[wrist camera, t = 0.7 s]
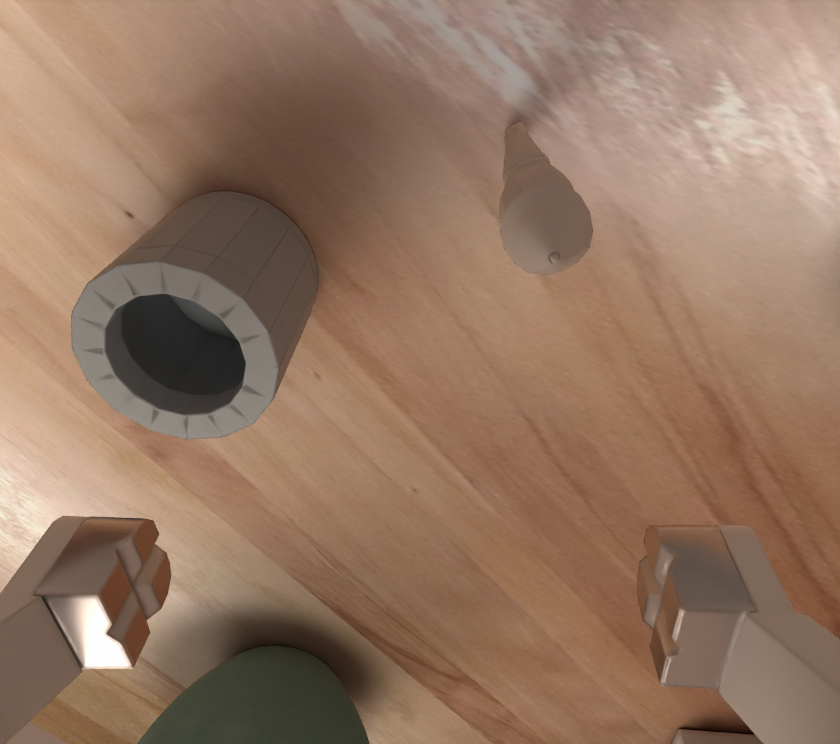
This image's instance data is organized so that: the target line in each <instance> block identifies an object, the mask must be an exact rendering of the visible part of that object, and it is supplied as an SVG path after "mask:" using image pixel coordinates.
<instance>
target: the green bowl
mask: <svg viewBox="0 0 840 744" xmlns="http://www.w3.org/2000/svg"><path fill="white" fill-rule="evenodd" d="M137 744H369V740H368V737H367V734H366V731H365V728H364V726H363V723H362V721H361V719H360V717H359V714H358V712H357V710H356V708H355V706H354V704H353V702H352V701H351V699H350V697H349V695H348V694H347V692H346V690H345V689H344V687H343V685H342V684H341V682H340V681H339V679H338V678H337V676H336V675H335V674H334V672H333V671H332V670H331V669H330V668H329V667H328V666H327V665H326V664H325V663H324V662H322V661H321V660H320V659H319V658H317V657H315V656H313V655H311V654H309V653H307V652H304V651H302V650H298V649H295V648H291V647H284V646H262V647H256V648H252V649H249V650H246V651H244V652H242V653H240V654H238V655H236V656H234V657H232V658H231V659H229V660H227V661H226V662H224V663H222V664H221V665H219V666H217V667H216V668H214V669H213V670H211V671H210V672H208V673H207V674H205V675H204V676H202V677H201V678H200V679H198V680H197V681H196V682H194V683H193V684H192V685H191V686H190V687H188V688H187V689H186V690H185V691H184V692H183V693H182V694H181V695H179V696H178V697H177V698H176V699H175V700H174V701H173V702H172V703H171V704H170V705H169V706H168V707H167V708H166V709H165V711H164V712H163V713H162V714H161V715H160V716H159V717H158V718H157V720H156V721H155V722H154V723H153V724H152V725H151V727H150V728H149V729H148V730H147V732H146V733H145V734H144V735H143V737H142V738H141V739H140V741H139V742H138V743H137Z"/></svg>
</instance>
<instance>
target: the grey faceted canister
mask: <svg viewBox="0 0 840 744" xmlns="http://www.w3.org/2000/svg"><path fill="white" fill-rule="evenodd" d="M317 288H318V270H317V264H316V260H315V257H314V254H313V251H312V249H311V247H310V244H309V243H308V241H307V239H306V238H305V236H304V234H303V233H302V232H301V230H300V229H299V228H298V226H297V225H296V224H295V223H294V222H293V221H292V220H291V219H290V218H289V217H288V216H287V215H285V214H284V213H283V212H282V211H280V210H279V209H277V208H276V207H274V206H273V205H271V204H270V203H267V202H265V201H263V200H261V199H259V198H256V197H253V196H251V195H247V194H243V193H238V192H228V191H221V192H211V193H206V194H202V195H199V196H196V197H194V198H192V199H190V200H188V201H186V202H185V203H183V204H182V205H181V206H179V207H178V208H177V209H176V210H175V211H173V212H171V213H170V214H168V215H167V216H165V217H164V218H163V219H162V220H161V221H160V222H158V223H157V224H156V225H155V226H154V227H153V228H151V229H150V230H149V231H148V232H147V233H146V234H144V235H143V236H142V237H141V238H140V239H139V240H137V241H136V242H135V243H134V244H133V245H132V246H130V247H129V248H128V249H127V250H126V251H125V252H123V253H122V254H121V255H120V256H119V257H118V258H116V259H115V260H114V261H113V262H112V263H111V264H109V265H108V266H107V267H106V268H105V269H104V270H102V271H101V272H100V273H99V274H98V275H97V276H95V277H94V278H93V279H92V280H91V281H90V282H88V284H87V285H86V286H85V288H84V290H83V292H82V294H81V296H80V298H79V299H78V301H77V303H76V305H75V307H74V309H73V311H72V314H71V329H72V348H73V352H74V354H75V356H76V358H77V360H78V363H79V365H80V367H81V369H82V371H83V373H84V375H85V377H86V380H87V381H88V382H89V384H90V385H91V386H92V387H93V388H94V389H95V390H96V391H97V392H98V393H99V394H100V395H101V396H102V397H103V398H104V399H105V400H106V401H107V402H108V403H109V405H110V406H111V407H112V408H113V409H114V410H117V412H119V413H121V414H122V415H124V416H126V417H128V418H130V419H131V420H133V421H135V422H137V423H138V424H140V425H142V426H144V427H145V428H147V429H151V431H153V432H157V433H162V434H166V435H170V436H174V437H178V438H182V439H186V440H187V439H204V438H219V437H223V436H224V437H225V436H227V435H230V434H232V433H234V432H236V431H238V430H240V429H243V428H245V427H247V426H249V425H251V424H253V423H255V422H256V420H257V419H258V418H259V417H260V415H261V414H262V413H263V412H264V411H265V409H266V408H267V407H268V406H269V404H270V403H271V402H272V401H273V399H274V397H275V394H276V392H277V390H278V387H279V385H280V383H281V380H282V378H283V376H284V374H285V371H286V369H287V367H288V364H289V362H290V360H291V358H292V355H293V353H294V351H295V348H296V346H297V344H298V341H299V339H300V337H301V334H302V332H303V330H304V328H305V325H306V323H307V321H308V318H309V316H310V314H311V309H312V305H313V303H314V301H315V297H316V294H317Z"/></svg>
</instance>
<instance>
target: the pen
mask: <svg viewBox="0 0 840 744" xmlns="http://www.w3.org/2000/svg"><path fill="white" fill-rule="evenodd" d="M504 140H505V156H504V168H503V181H504V184H505V187H504V190H503V192H502V195H501V199H500V204H499V216H500V222H501V226H500V233H501V237H502V241H503V245H504V249H505V250H506V252H507V253H508V255H509V256H510V258H511V259H512V261H513V262H514V263H515V264H516V265H517V266H519V267H520V268H522V269H523V270H525V271H526V272H528V273H533V274H541V275H547V274H552V273H556V272H560V271H563V270H565V269H567V268H569V267H570V266H572V265H574V264H575V263H577V262H579V260H580V259H581V258H582V257H583V255H584V254H585V253H586V252H587V250H588V249H589V248H590V243H591V238H592V233H593V227H592V222H591V216H590V212H589V210H588V208H587V206H586V205H585V203H584V201H583V200H582V198H581V196H580V195H579V194H578V193H577V192H575V191H574V188H573V186H572V185H571V183H570V181H569V180H568V179H567V177H566V176H565V175H564V174H562V173H561V172H560V171H559V170H558V169H556V168H555V167H554V166H552V165H551V164H550V162H549V159H548V158H547V156H546V155H545V154H544V153H543V152H542V151H541V150H540V149H539V147H538V146H537V145H536V144H535V143H534V141H533V140H532V138H531V137H530V135H529V133H528V131H527V129H526V127H525V125H524V124H523V123H521V122H518V123H516V124H513V125H511V126H509V127H508V128H506V129H505V132H504Z"/></svg>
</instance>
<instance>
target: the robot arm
mask: <svg viewBox="0 0 840 744" xmlns="http://www.w3.org/2000/svg"><path fill="white" fill-rule="evenodd" d="M158 536H159V532H158V530H157V528H156V525H155V523H154V521H153V520H149V519H140V518H115V517H77V516H62V517H60V518H59V519H57V520H55V521H54V522H53V523H52V524H51V525H50V527H49V528H48V529H47V531H46V532H45V534H44V535H43V536H42V538H41V539H40V540H39V542H38V543H37V544H36V546H35V547H34V549H33V550H32V551H31V553H30V554H29V555H28V557H27V558H26V559H25V561H24V562H23V564H22V565H21V566H20V568H19V569H18V570H17V572H16V573H15V574H14V576H13V577H12V578H11V580H10V581H9V583H8V584H7V585H6V587H5V588H4V589H3V591H2V592H1V593H0V744H6V743H7V742H8V741H9V740H10V739H11V738H12V737H13V736H14V735H15V734H16V733H17V732H18V731H19V730H21V729H22V727H24V726H25V725H26V724H27V723H28V722H29V721H30V720H31V719H32V718H33V717H34V716H36V715H37V714H38V713H39V712H40V711H41V710H42V709H43V708H44V707H45V706H46V705H47V704H48V703H49V702H50V701H52V700H53V699H54V698H55V697H56V696H57V695H58V694H59V693H60V692H61V691H62V690H63V689H64V688H65V687H67V686H68V685H69V684H70V683H71V682H72V681H73V680H74V679H75V678H76V677H77V676H78V675H79V674H80V673H81V672H82V669H133V668H134V666H135V663H136V661H137V659H138V657H139V655H140V653H141V651H142V649H143V647H144V644H145V642H146V640H147V638H148V636H149V634H150V630H149V626H148V623H147V620H148V619H149V618H150V617H151V616H153V615H154V614H155V613H156V612H158V611H159V610H160V609H161V608H162V606H163V603H164V601H165V599H166V597H167V594H168V590H169V585H170V579H171V570H170V562H169V559H168V556H167V553H166V552H165V551H163V550H162V549H161V548H159V547H158V546H157V545H156V544H155V542H156V540H157V538H158ZM644 546H645V549H646V552H647V556H645V557H644V558H643V559H642V560H640V561H639V567H638V573H637V594H638V601H639V607H640V611H641V615H642V619H643V621H644V622H645V623H646V624H647V625H648V626H649V627H650V628H651V629H652V630H653V633H652V637H651V642H650V650H651V653H652V657H653V661H654V664H655V668H656V672H657V675H658V679H659V683H660V686H674V687H691V688H708V689H719V690H718V693H719V694H720V695H721V696H722V697H723V699H724V700H725V701H726V702H727V703H728V704H729V705H730V706H731V708H732V709H733V710H734V711H735V712H736V713H737V714H738V716H739V717H740V718H741V719H742V720H743V721H744V722H745V724H746V725H747V726H748V727H749V728H750V729H751V730H752V731H753V733H754V734H755V735H756V736H757V737H758V738H759V739H760V741H761V742H762V743H763V744H840V639H839V638H837V637H836V636H835V635H833V634H832V633H831V632H829V631H828V630H827V629H825V628H824V627H823V626H822V625H820V624H819V623H818V622H816V621H815V620H814V619H812V618H811V617H810V616H809V615H807V614H800V613H795V611H794V609H793V607H792V605H791V603H790V601H789V599H788V597H787V595H786V593H785V591H784V589H783V587H782V585H781V583H780V581H779V579H778V577H777V575H776V573H775V571H774V569H773V567H772V565H771V563H770V561H769V559H768V557H767V555H766V553H765V551H764V549H763V547H762V545H761V543H760V541H759V540H758V538H757V536H756V534H755V532H754V530H753V529H752V528H750V527H749V526H748V525H715V526H712V525H649V526H648V528H647V530H646V533H645V537H644Z"/></svg>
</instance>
